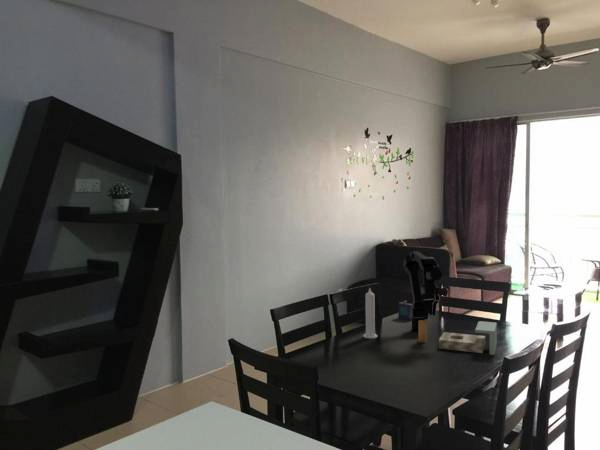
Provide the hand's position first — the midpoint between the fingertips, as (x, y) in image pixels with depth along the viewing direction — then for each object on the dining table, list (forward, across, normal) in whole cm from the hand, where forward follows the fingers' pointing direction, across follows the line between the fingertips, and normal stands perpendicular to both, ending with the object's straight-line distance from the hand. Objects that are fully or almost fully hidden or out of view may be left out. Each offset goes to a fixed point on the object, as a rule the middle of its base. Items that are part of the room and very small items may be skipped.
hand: (432, 315), depth 240 cm
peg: (+12, +3, +6) cm, 14 cm away
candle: (+9, +2, +32) cm, 33 cm away
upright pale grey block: (+16, +1, -22) cm, 28 cm away
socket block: (+15, +1, -12) cm, 19 cm away
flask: (0, +43, +22) cm, 48 cm away
